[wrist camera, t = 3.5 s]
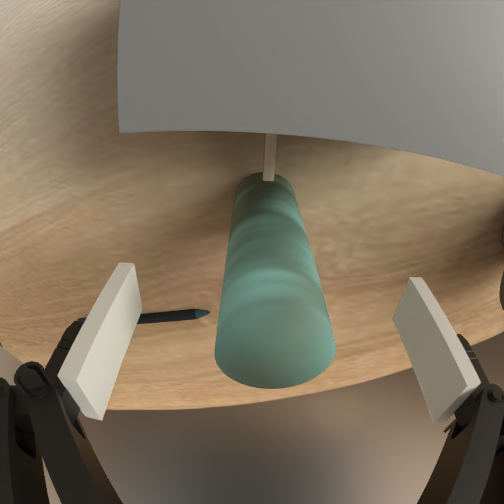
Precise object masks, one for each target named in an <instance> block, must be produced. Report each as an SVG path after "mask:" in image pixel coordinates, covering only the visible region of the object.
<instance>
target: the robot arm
mask: <svg viewBox="0 0 504 504" xmlns="http://www.w3.org/2000/svg"><path fill="white" fill-rule="evenodd" d="M142 309H143V306H142V301H141V297H140V292H139V287H138V282H137V277H136V271H135V266H134V263H122V262H119V264H118V265H117V267H116V268H115V270H114V272H113V273H112V275H111V277H110V278H109V280H108V282H107V283H106V285H105V287H104V288H103V290H102V292H101V294H100V295H99V297H98V299H97V301H96V302H95V304H94V306H93V308H92V309H91V311H90V313H89V315H88V317H87V318H86V320H85V322H78V321H75V322H73V323H72V324H71V325H70V326H69V327H68V328H67V329H66V330H65V332H64V334H63V336H62V338H61V340H60V341H59V343H58V345H57V348H56V349H55V350H54V352H53V354H52V356H51V358H50V360H49V362H48V364H47V366H46V368H45V370H44V368H43V366H42V365H41V364H39V363H38V362H33V361H31V362H27V363H25V364H23V365H21V366H20V367H19V368H18V370H17V371H16V373H15V375H14V382H15V384H16V385H17V386H10V385H9V384H8V382H7V381H6V380H5V379H3V378H0V504H50V503H49V498H48V494H47V488H46V482H45V476H44V469H43V462H42V457H43V460H44V462H45V465H46V467H47V470H48V472H49V475H50V478H51V480H52V483H53V485H54V487H55V490H56V492H57V494H58V496H59V498H60V501H61V503H62V504H123V503H122V502H121V500H120V498H119V497H118V495H117V493H116V491H115V490H114V488H113V486H112V485H111V483H110V481H109V479H108V478H107V476H106V474H105V472H104V470H103V468H102V466H101V464H100V462H99V460H98V459H97V456H96V454H95V453H94V450H93V449H92V447H91V444H90V442H89V440H88V438H87V436H86V433H85V431H84V429H83V426H82V424H81V422H80V420H79V418H78V417H77V416H78V413H79V411H80V410H81V411H82V412H83V414H84V415H85V416H87V417H90V418H94V419H98V420H102V419H103V416H104V413H105V410H106V407H107V404H108V401H109V398H110V395H111V392H112V389H113V386H114V383H115V380H116V378H117V375H118V372H119V369H120V366H121V364H122V361H123V358H124V356H125V353H126V350H127V348H128V345H129V342H130V340H131V337H132V334H133V332H134V329H135V327H136V324H137V322H138V319H139V317H140V314H141V312H142ZM393 320H394V323H395V325H396V327H397V330H398V332H399V334H400V337H401V339H402V341H403V344H404V346H405V349H406V351H407V354H408V356H409V359H410V361H411V364H412V366H413V369H414V371H415V374H416V377H417V379H418V382H419V384H420V387H421V390H422V393H423V395H424V398H425V401H426V404H427V407H428V410H429V413H430V415H431V419H432V422H433V424H434V423H438V422H442V421H446V420H448V419H449V418H450V416H452V414H453V413H454V414H455V417H456V419H455V420H454V421H453V422H452V423H451V424H450V425H449V426H448V427H447V428H446V429H445V430H444V432H447V431H448V430H449V429H450V431H449V433H448V437H447V439H446V442H445V444H444V447H443V449H442V452H441V454H440V457H439V459H438V461H437V464H436V466H435V468H434V471H433V473H432V475H431V477H430V479H429V481H428V483H427V485H426V487H425V489H424V491H423V493H422V495H421V497H420V499H419V501H418V503H417V504H504V392H503V390H502V389H501V388H500V387H499V386H498V385H495V384H490V383H489V381H488V380H487V377H486V375H485V373H484V371H483V369H482V367H481V365H480V363H479V361H478V359H476V356H475V354H474V352H472V348H471V346H470V345H469V343H468V341H467V340H466V339H465V338H464V337H463V336H462V335H461V334H456V333H455V331H454V329H453V328H452V326H451V324H450V322H449V321H448V319H447V317H446V316H445V314H444V312H443V311H442V309H441V307H440V306H439V304H438V302H437V301H436V299H435V297H434V296H433V294H432V292H431V291H430V289H429V288H428V286H427V285H426V283H425V281H424V280H423V278H422V277H409V280H408V283H407V285H406V288H405V290H404V293H403V295H402V298H401V300H400V302H399V305H398V307H397V309H396V312H395V314H394V316H393Z"/></svg>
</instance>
